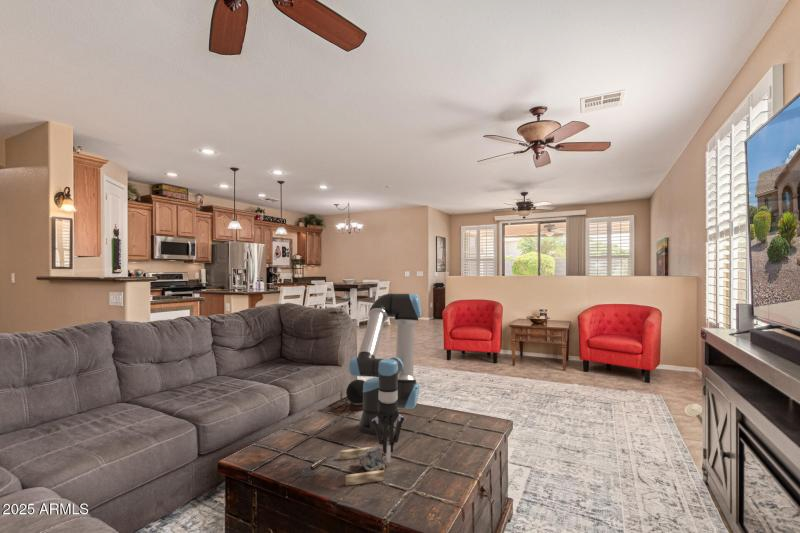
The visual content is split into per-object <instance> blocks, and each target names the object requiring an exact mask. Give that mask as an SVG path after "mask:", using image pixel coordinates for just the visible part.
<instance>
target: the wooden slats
mask: <svg viewBox="0 0 800 533" xmlns="http://www.w3.org/2000/svg"><path fill="white" fill-rule="evenodd" d="M368 448H375V446H367V447H359V448H351V449H342V450H340V451H339V452H340V455H339V456H340V461H343V460H350V459H352V460H353V459H358V454H360V453H362V452H364V451H366V450H367V449H368ZM385 474H386V473H385V469H384V470H383V469H380V470H379V471H371V472H370V471H366V472H359V473H350V474H345V483H344V484H345V486H346V487H347V486H354V485H359V484H360V485H361V484H369V483H374V482H381V481H385V479H386V475H385Z"/></svg>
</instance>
